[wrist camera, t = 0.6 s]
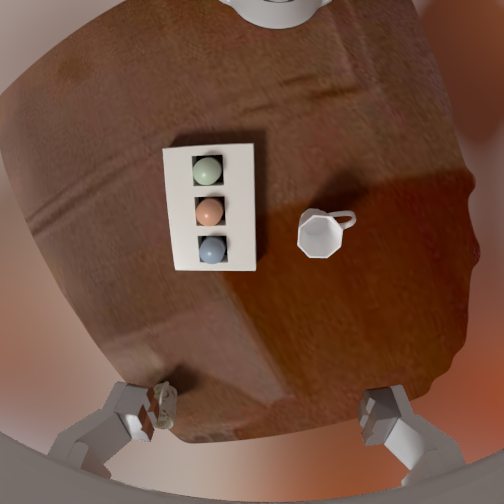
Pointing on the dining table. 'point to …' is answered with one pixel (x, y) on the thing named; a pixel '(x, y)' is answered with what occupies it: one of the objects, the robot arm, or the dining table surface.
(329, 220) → the cup
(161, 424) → the mug
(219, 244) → the slate button
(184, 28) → the dining table surface
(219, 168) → the sage button
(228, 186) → the button panel
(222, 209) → the terracotta button
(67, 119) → the dining table surface
